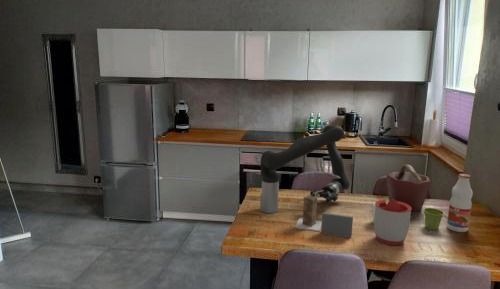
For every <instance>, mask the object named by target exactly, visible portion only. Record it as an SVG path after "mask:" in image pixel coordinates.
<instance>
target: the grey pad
mask: <svg viewBox="0 0 500 289" xmlns="http://www.w3.org/2000/svg"><path fill="white" fill-rule="evenodd" d="M294 228H295V229H301V230H307V231H314V232H320V233H321V228H322V220H317V219H316V224H314V225H313V226H312V227H311V226H307V225H303V217H299V219H298V220H297V222H296V224H295V226H294Z"/></svg>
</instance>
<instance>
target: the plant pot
mask: <svg viewBox="0 0 500 289" xmlns="http://www.w3.org/2000/svg"><path fill="white" fill-rule="evenodd" d="M423 212H424V227H426V228H427V229H429V230H433V231H434V230H439V228H440V225H441V221H442V218H443V217H444V215H445V212H444V211H443V210H441V209H438V208H434V207H426V208H423Z"/></svg>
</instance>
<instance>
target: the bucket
mask: <svg viewBox="0 0 500 289" xmlns="http://www.w3.org/2000/svg"><path fill="white" fill-rule="evenodd" d="M407 169H408V171H406V170H407ZM430 183H431V180H430V178H429V176H426V175H424V174H420V173H417V172H416V170H415V169H414V167H413V166H412V165H410V164H402V166H401V168H400V171H393V172H390V173H388V174H386V186H387V196H388V202H389V201H391V200H392V199H395V200H396V201H400V202H403V203H406V204H408V205H410V206H411V208H412V210H411V214H415V213H421V212H422V209H423V206H424V204H425V200H426V198H427V196H428V195H427V194H428V192H429V189H430Z"/></svg>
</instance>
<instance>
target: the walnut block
mask: <svg viewBox="0 0 500 289" xmlns="http://www.w3.org/2000/svg"><path fill="white" fill-rule="evenodd" d="M315 196H316V195H315ZM315 196H310V195H309V194H308V195H306V196H304V197H303V210H302V218H303V225H307V226H311V227H312V226H313V225H314V224H316V220H317V210H318V209H317V207H318V206H317V205H318V198H317V197H315Z"/></svg>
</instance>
